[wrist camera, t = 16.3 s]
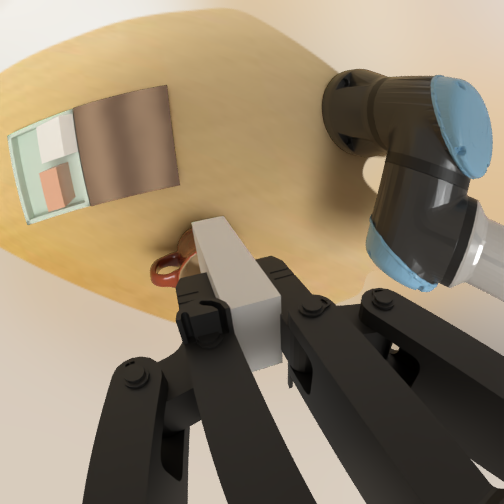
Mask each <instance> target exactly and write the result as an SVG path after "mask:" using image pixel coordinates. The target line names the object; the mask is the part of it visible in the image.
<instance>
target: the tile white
mask: <svg viewBox="0 0 504 504" xmlns="http://www.w3.org/2000/svg"><path fill="white" fill-rule="evenodd" d="M36 131H37V138H38V145H39V151H40V156H41V162H42V164H43V163H46V162H49V161H51V160H54V159H57V158H60V157H63V156H66V155H69V154H72V153H75V152H78V147H77V141H76V135H75V128H74V120H73V114H67V115H61V116H58V117H56V118H53V119H51V120H49V121H47V122H45V123H43V124H41V125H40V126H38V127H36Z"/></svg>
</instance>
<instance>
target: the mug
mask: <svg viewBox="0 0 504 504" xmlns="http://www.w3.org/2000/svg"><path fill="white" fill-rule="evenodd" d="M168 266H176V267H179V269H177V270H175V271H173V272H171V273H169V274H158V272H159V271H160V270H161V269H162V268H164V267H168ZM200 273H201V271H200V266H199V261H198V256H197V251H196V245H195V240H194V235H193V229H192V228H190V229H189V230H187V231H186V232H185V233H184V234H183V236H182V237H181V239H180V241H179V243H178V250H177V252H173V253H170V254H168V255H166V256H164V257H161V258H159V259H157V260H156V261H155V262H154V263H153V264H152V266H151V268H150V277H151V281H152V283H153V284H154V285H156V286H160V287H174V288H176V285H177V283H178V281H179V279H180V278H183V277H187V276H192V275H196V274H200Z"/></svg>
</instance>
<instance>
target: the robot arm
mask: <svg viewBox="0 0 504 504" xmlns="http://www.w3.org/2000/svg"><path fill="white" fill-rule="evenodd" d="M322 112H323V119H324V123H325V126H326V129H327V131H328V133H329V135H330V137H331V138H332V140H333V141H334V142H335V144H336V145H337V146H338V147H340V148H341V149H342V150H344V151H345V152H347V153H350V154H353V155H357V156H361V157H373V156H377V155H382V154H387V156H386V161H385V165H384V170H383V174H382V178H381V183H380V187H379V191H378V195H377V198H376V202H375V206H374V210H373V214H371V216H370V220H369V221H370V225H369V230H368V234H367V238H366V250H367V253H368V254H369V256H370V258H371V259H372V261H373V262H374V263H375V264H376V266H377V267H378V268H379V269H381V270H382V271H383V272H384V273H386V274H387V275H388V276H389V277H391V278H393V279H394V280H395V281H397V282H399V283H401V284H403V285H404V286H407V287H409V288H411V289H414V290H416V289H418V290H420V291H421V292H429V291H432V290H433V289H434V288H435V287H436V286H437V285H438V283H440V284H443V285H444V286H447V287H449V288H451V287H454V286H456V285H458V284H460V283H463V282H466V283H468V284H470V285H472V286H474V287H476V288H478V289H480V290H482V291H484V292H486V293H488V294H490V295H492V296H494V297H496V298H498V299H500V300H502V301H503V302H504V226H503V225H501V224H499V223H497V222H495V221H493V220H491V219H489V218H487V216H486V215H485V213H484V211H483V209H482V206H481V204H480V202H479V201H478V200H476V199H474V198H471V197H469V196H468V195H467V191H468V187H469V183H470V179H476V178H481V177H482V176H483V175H484V174H485V173H486V171H487V167H489V165H490V161H491V156H492V144H493V141H492V128H491V123H490V118H489V115H488V111H487V108H486V106H485V104H484V101H483V99H482V98H481V96H480V94H479V93H478V91H477V90H476V89H475V88H474V87H473V86H472V85H471V84H470V83H468V82H466V81H465V80H462V79H457V78H451V77H444V76H442V75H435V76H400V77H387V76H384V75H381V74H378V73H375V72H372V71H369V70H365V69H354V70H347V71H344V72H341V73H339V74H338V75H336V76H335V77H334V78H333V79H332V80H331V81H330V83H329V84H328V86H327V88H326V90H325V93H324V97H323V104H322ZM191 224H192V229H193V235H194V240H195V245H196V251H197V256H198V261H199V266H200V271H201V273H200V274H196V275H192V276H187V277H183V278H180V279H179V281H178V283H177V285H176V293H177V299H178V304H179V311H178V312H177V315H176V323H177V326H178V329H179V332H180V335H181V338H182V341H183V342H182V344H181V346H180V347H179V349H178V350H177V351H176V352H175V353H173V354H172V355H170V356H169V357H167V358H165V359H163V360H161V361H159V362H156V361H154V360H153V359H151V358H146V357H136V358H131V359H129V360H127V361H125V362H123V363H122V364H121V365H120V366H118V367H117V368H116V370H115V372H114V374H113V376H112V379H111V382H110V386H109V388H108V392H107V396H106V399H105V403H104V406H103V409H102V413H101V417H100V421H99V425H98V429H97V432H96V437H95V441H94V445H93V450H92V454H91V459H90V463H89V468H88V474H87V479H86V485H85V491H84V496H83V503H82V504H187V503H188V502H187V501H188V456H189V432H190V426H191V425H193V424H195V423H196V422H198V421H200V420H202V424H203V427H204V431H205V435H206V438H207V442H208V445H209V448H210V452H211V454H212V458H213V461H214V464H215V467H216V470H217V474H218V477H219V479H220V483H221V486H222V488H223V491H224V494H225V497H226V500H227V502H228V504H317V503H316V501H315V499H314V498H313V496H312V494H311V492H310V490H309V488H308V486H307V485H306V483H305V481H304V479H303V477H302V475H301V473H300V471H299V469H298V468H297V466H296V464H295V462H294V460H293V458H292V456H291V454H290V452H289V450H288V448H287V446H286V444H285V442H284V440H283V438H282V436H281V434H280V432H279V430H278V428H277V426H276V423H275V421H274V419H273V417H272V415H271V413H270V411H269V409H268V407H267V404H266V402H265V400H264V398H263V396H262V394H261V391H260V389H259V387H258V385H257V383H256V381H255V378H254V376H253V374H252V372H253V371H257V370H260V369H264V368H267V367H270V366H273V365H276V364H279V363H282V352H283V353H284V355H285V357H286V359H287V360H288V385H289V388H292V386H293V382H294V383H295V385H296V387H297V389H298V390H299V392H300V394H301V396H302V397H303V399H304V401H305V403H306V404H307V406H308V408H309V410H310V411H311V413H312V415H313V416H314V418H315V420H316V422H317V423H318V425H319V427H320V428H321V430H322V432H323V433H324V435H325V437H326V438H327V440H328V442H329V444H330V445H331V447H332V449H333V450H334V452H335V453H336V455H337V457H338V458H339V460H340V462H341V463H342V465H343V467H344V468H345V470H346V472H347V473H348V475H349V476H350V478H351V480H352V481H353V483H354V485H355V486H356V487H357V489H358V491H359V493H360V494H361V496H362V497H363V499H364V500H365V502H366V504H504V489H498V488H496V487H493V486H492V485H491V484H490V483H489V482H488V480H487V479H486V478H485V477H484V475H483V474H482V473H481V472H480V470H479V469H478V468H477V467H476V465H475V464H474V463H473V462H472V461H471V459H472V460H473V461H474V462H476V463H477V464H479V465H480V466H482V467H483V468H484V469H486V470H487V471H489V472H490V473H492V474H493V475H495V476H496V477H498V478H499V479H501V480H502V481H504V356H502V355H501V354H499V353H497V352H496V351H494V350H493V349H491V348H489V347H488V346H486V345H485V344H483V343H481V342H479V341H478V340H476V339H475V338H473V337H472V336H470V335H468V334H467V333H465V332H463V331H462V330H460V329H458V328H457V327H455V326H453V325H451V324H450V323H448V322H446V321H445V320H443V319H441V318H440V317H438V316H436V315H434V314H433V313H431V312H429V311H428V310H426V309H424V308H422V307H420V306H419V305H417V304H415V303H413V302H412V301H410V300H408V299H406V298H405V297H403V296H401V295H399V294H397V293H396V292H394V291H391V290H389V289H383V288H376V289H371V290H368V291H366V292H365V293H364V294H363V295H362V300H361V304H355V305H344V306H336V305H335V304H334V303H333V302H332V301H331V300H329V299H328V298H326V297H323V296H320V295H312V294H311V293H310V291H309V290H308V289H307V288H306V287H305V286H304V285H303V284H302V282H301V281H300V280H299V279H298V278H297V277H296V276H295V275H294V273H293V272H292V271H291V270H290V269H289V268H288V267H287V265H286V264H285V263H284V262H283V261H282V260H280V259H278V258H275V257H273V256H269V257H265V258H260V259H256V260H255V259H254V258H253V256H252V255H251V253H250V252H249V251H248V249H247V248H246V246H245V245H244V244H243V242H242V241H241V240H240V238H239V237H238V235H237V234H236V233H235V231H234V230H233V228H232V227H231V226H230V224H229V223H228V221H227V220H226V219H225V217H224V216H220V217H215V218H210V219H205V220H200V221H196V222H191ZM392 343H394V344H396V345H397V346H398V347H399V350H393V349H391V346H392Z"/></svg>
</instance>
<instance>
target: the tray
mask: <svg viewBox="0 0 504 504" xmlns="http://www.w3.org/2000/svg"><path fill="white" fill-rule="evenodd" d="M67 114H73V120H74V111H73V109H70V110H68V111H65V112H62V113H59V114H56V115H54V116H51V117H49V118H46V119H43V120H41V121H39V122H36V123H34V124H31V125H29V126H27V127H25V128H22V129H20V130H18V131H16V132H14V133H12V134H10V135H8V136H7V137H8V144H9V151H10V157H11V162H12V167H13V172H14V177H15V181H16V186H17V190H18V194H19V198H20V202H21V205H22V209H23V212H24V216H25V219H26V222H27V225H30V224H33V223H36V222H39V221H42V220H45V219H48V218H51V217H54V216H57V215H61V214H64V213H67V212H71V211H74V210H77V209H81V208H84V207H88V206H90V205H91V203H90V199H89V195H88V191H87V187H86V182H85V178H84V173H83V168H82V163H81V158H80V152H79V147H78V141H77V134H76V127H75V120H74V128H75V135H76V141H77V147H78V152H75V153H72V154H69V155H66V156H63V157H60V158H57V159H54V160H51V161H49V162H46V163H43V164H42V162H41V156H40V151H39V145H38V138H37V131H36V127H38V126H40V125H41V124H43V123H45V122H47V121H49V120H51V119H53V118H56V117H58V116H61V115H67ZM65 162H68V164H69V169H70V174H71V179H72V183H73V188H74V192H75V196H76V197H75V198H74V199H73V200H72V201H71V202H70V203H69V204H68V205H67V206H66V207H63V208H60V209H57V210H54V211H50V212H48V208H47V204H46V201H45V197H44V193H43V189H42V184H41V180H40V175H39V173H41V172H43V171H45V170H47V169H49V168H51V167H53V166H56V165H59V164H62V163H65Z"/></svg>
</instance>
